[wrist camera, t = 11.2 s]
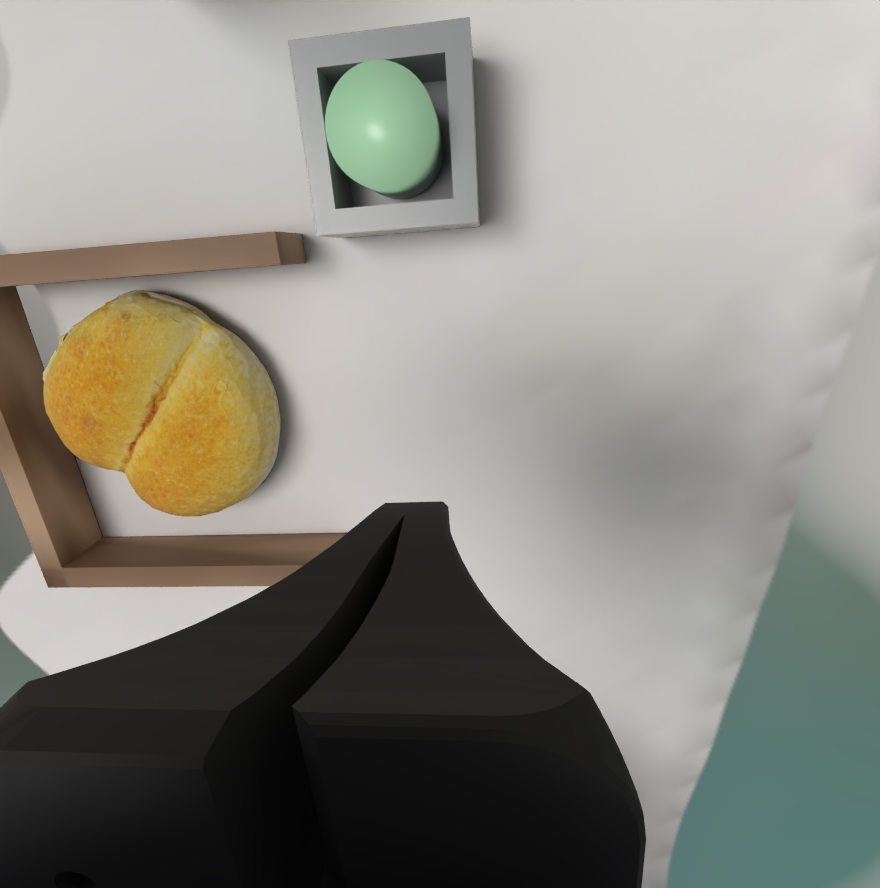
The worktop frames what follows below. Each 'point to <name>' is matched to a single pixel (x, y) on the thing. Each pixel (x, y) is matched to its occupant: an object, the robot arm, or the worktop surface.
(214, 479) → the bread roll
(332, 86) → the button housing
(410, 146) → the button
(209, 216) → the worktop surface
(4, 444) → the walnut pocket
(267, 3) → the worktop surface
